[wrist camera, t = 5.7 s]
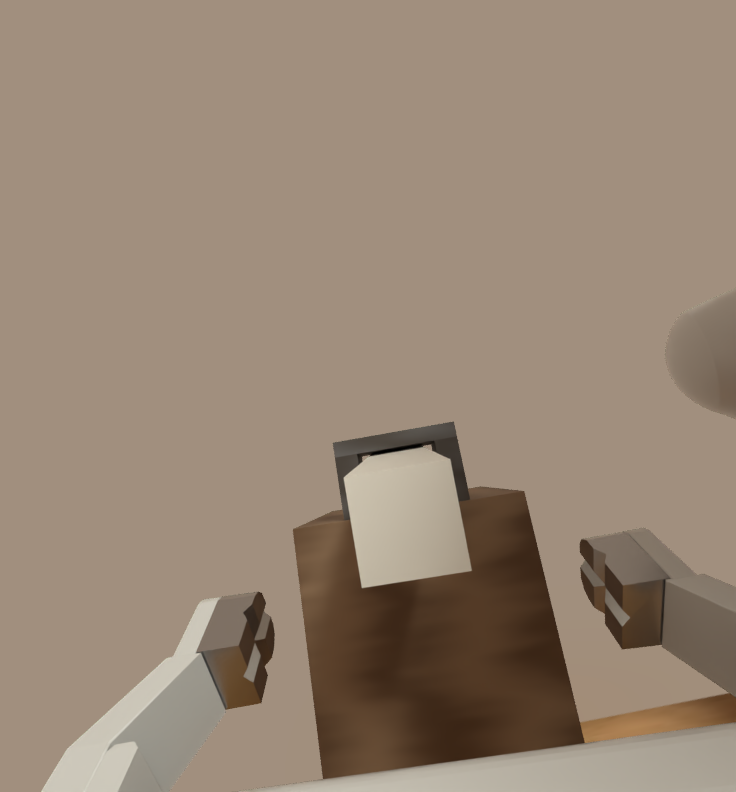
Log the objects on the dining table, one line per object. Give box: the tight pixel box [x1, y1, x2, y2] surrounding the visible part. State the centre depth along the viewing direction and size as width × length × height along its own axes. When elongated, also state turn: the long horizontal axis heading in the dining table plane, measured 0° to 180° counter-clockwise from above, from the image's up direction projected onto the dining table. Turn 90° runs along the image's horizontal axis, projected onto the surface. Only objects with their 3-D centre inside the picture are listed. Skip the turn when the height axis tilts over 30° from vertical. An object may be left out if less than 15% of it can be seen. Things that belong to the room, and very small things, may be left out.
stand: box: [293, 422, 585, 779], centre depth 25 cm, size 12×12×30 cm
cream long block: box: [344, 446, 472, 588], centre depth 18 cm, size 3×13×3 cm, turn 175°
